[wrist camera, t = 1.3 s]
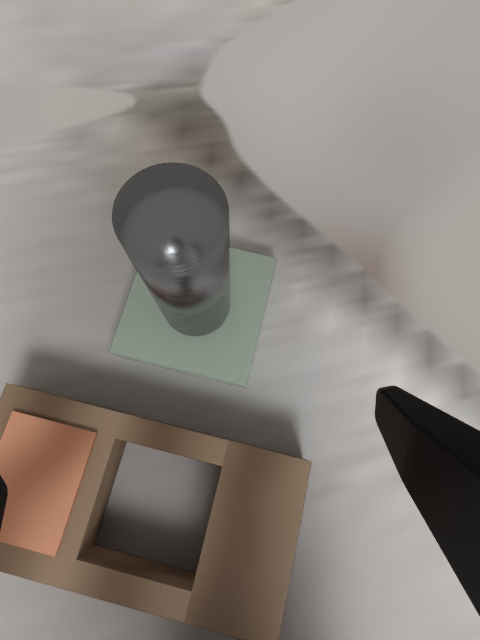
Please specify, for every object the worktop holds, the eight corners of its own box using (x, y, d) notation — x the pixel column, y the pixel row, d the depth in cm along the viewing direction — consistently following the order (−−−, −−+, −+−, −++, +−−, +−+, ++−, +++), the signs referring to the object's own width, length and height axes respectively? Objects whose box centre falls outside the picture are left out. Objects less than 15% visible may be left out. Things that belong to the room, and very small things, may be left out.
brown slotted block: (303, 458, 22) (312, 462, 19) (271, 622, 20) (277, 651, 17) (30, 388, 23) (4, 383, 20) (-29, 539, 20) (-66, 554, 18)
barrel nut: (237, 280, 24) (240, 176, 14) (220, 343, 23) (211, 278, 13) (173, 265, 24) (133, 152, 14) (153, 327, 23) (95, 250, 13)
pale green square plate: (275, 264, 25) (277, 258, 24) (245, 388, 23) (246, 386, 22) (154, 236, 25) (151, 228, 24) (114, 355, 23) (109, 351, 22)
